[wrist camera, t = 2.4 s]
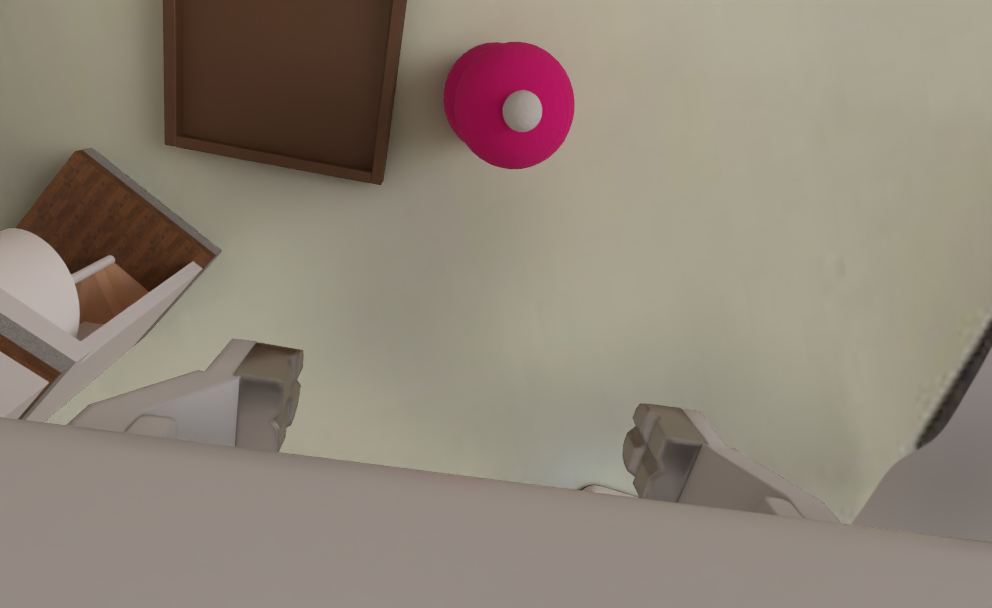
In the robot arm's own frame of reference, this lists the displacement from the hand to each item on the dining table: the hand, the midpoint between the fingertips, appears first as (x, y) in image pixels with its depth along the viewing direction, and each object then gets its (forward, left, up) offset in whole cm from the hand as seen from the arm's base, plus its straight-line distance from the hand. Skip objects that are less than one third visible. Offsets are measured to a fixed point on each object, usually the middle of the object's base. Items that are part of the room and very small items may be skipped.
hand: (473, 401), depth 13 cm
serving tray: (+13, -6, -34) cm, 37 cm away
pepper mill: (-2, -6, -34) cm, 35 cm away
